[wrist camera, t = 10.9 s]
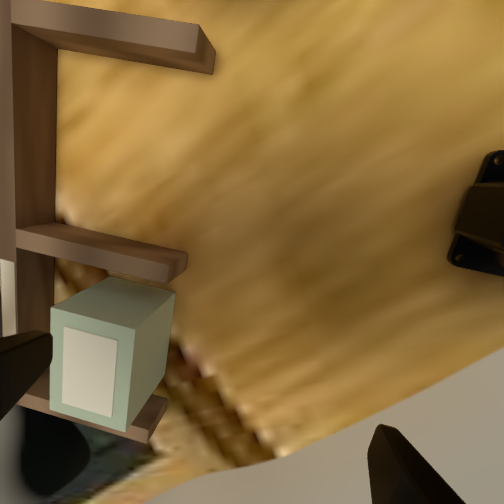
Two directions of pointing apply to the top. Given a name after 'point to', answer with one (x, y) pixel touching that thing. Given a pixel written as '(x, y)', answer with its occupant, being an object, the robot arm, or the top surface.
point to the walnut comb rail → (44, 159)
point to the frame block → (109, 350)
